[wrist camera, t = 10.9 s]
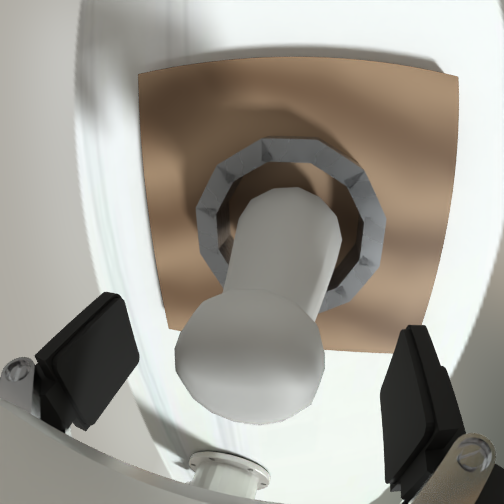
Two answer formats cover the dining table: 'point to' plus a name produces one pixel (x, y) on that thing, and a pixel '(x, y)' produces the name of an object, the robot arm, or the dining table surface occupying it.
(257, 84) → the board
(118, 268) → the dining table surface
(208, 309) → the salt shaker
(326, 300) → the collar
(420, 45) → the dining table surface
